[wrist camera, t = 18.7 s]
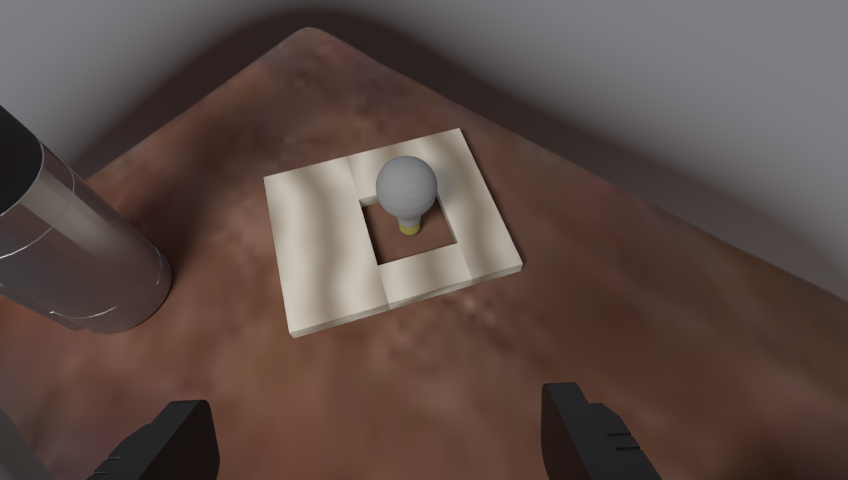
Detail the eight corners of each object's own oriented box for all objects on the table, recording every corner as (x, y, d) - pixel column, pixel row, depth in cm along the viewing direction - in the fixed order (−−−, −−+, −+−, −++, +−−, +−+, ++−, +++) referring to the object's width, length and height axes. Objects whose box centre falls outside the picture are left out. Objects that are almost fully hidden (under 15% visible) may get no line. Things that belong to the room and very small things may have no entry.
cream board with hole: (294, 338, 42) (289, 332, 41) (268, 185, 51) (263, 177, 50) (520, 270, 45) (522, 263, 43) (458, 137, 54) (459, 128, 52)
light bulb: (429, 258, 46) (428, 199, 37) (376, 246, 47) (363, 186, 38) (442, 214, 48) (444, 149, 40) (392, 203, 49) (383, 137, 41)
